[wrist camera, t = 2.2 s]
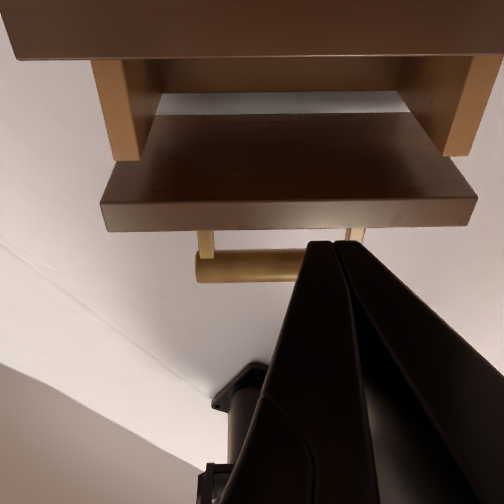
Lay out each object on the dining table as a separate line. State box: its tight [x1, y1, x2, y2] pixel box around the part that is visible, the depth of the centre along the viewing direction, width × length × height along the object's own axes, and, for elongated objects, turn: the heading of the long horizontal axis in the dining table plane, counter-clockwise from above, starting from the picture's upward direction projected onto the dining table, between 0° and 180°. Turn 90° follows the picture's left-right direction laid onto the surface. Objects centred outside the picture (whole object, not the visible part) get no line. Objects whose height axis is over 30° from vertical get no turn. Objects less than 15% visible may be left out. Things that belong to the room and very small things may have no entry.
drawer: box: [90, 56, 504, 283], centre depth 14 cm, size 18×12×6 cm, turn 0°
